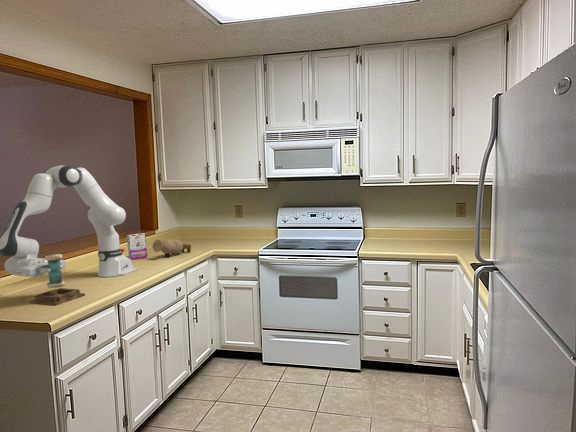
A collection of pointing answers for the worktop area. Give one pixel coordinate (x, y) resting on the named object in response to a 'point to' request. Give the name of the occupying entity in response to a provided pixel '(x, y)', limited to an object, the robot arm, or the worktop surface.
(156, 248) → the brown stuffed animal
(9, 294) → the worktop surface
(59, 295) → the pocket board
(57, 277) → the bobbin
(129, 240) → the candy bar box
